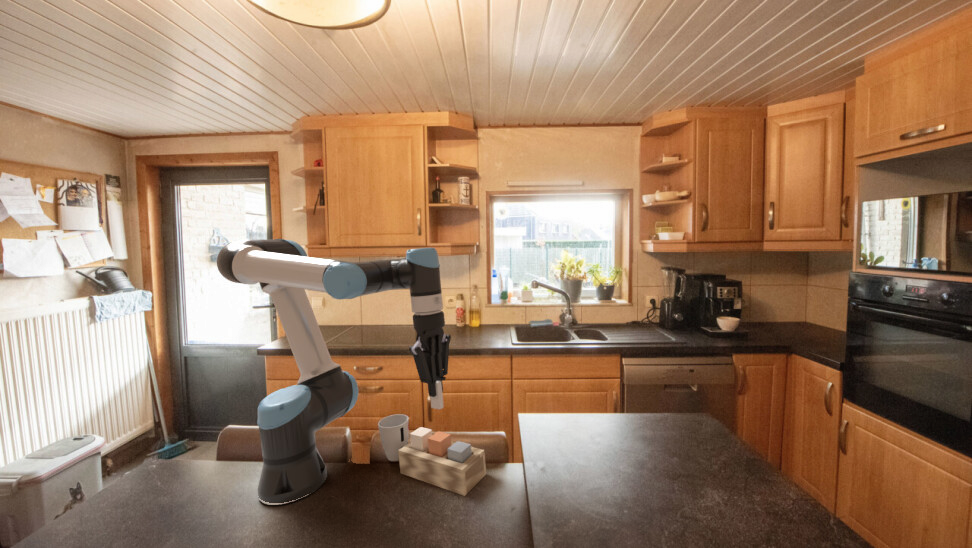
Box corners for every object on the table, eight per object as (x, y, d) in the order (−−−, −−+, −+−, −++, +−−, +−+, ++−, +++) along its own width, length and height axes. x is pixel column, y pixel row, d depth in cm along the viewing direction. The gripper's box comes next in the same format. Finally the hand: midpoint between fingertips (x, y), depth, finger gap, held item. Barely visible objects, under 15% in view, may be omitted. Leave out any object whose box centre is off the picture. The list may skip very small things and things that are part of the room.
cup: (404, 465, 97) (400, 427, 97) (376, 463, 99) (372, 427, 98) (416, 448, 105) (413, 414, 105) (390, 447, 107) (386, 414, 106)
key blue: (449, 473, 88) (447, 448, 88) (459, 464, 91) (457, 440, 91) (463, 477, 86) (460, 452, 86) (473, 468, 89) (470, 444, 89)
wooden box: (400, 473, 94) (398, 450, 93) (424, 455, 101) (422, 433, 101) (464, 495, 83) (462, 469, 83) (486, 473, 90) (484, 450, 90)
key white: (412, 456, 95) (409, 433, 94) (422, 448, 98) (420, 426, 98) (423, 460, 92) (421, 436, 92) (434, 452, 96) (432, 429, 95)
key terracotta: (429, 462, 91) (427, 438, 91) (440, 454, 95) (438, 431, 94) (442, 466, 89) (440, 441, 89) (452, 457, 92) (450, 434, 92)
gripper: (421, 317, 82) (431, 421, 83) (456, 307, 93) (465, 399, 94) (397, 317, 86) (407, 416, 88) (433, 307, 97) (442, 395, 98)
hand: (437, 407), depth 91 cm, fingers closed
